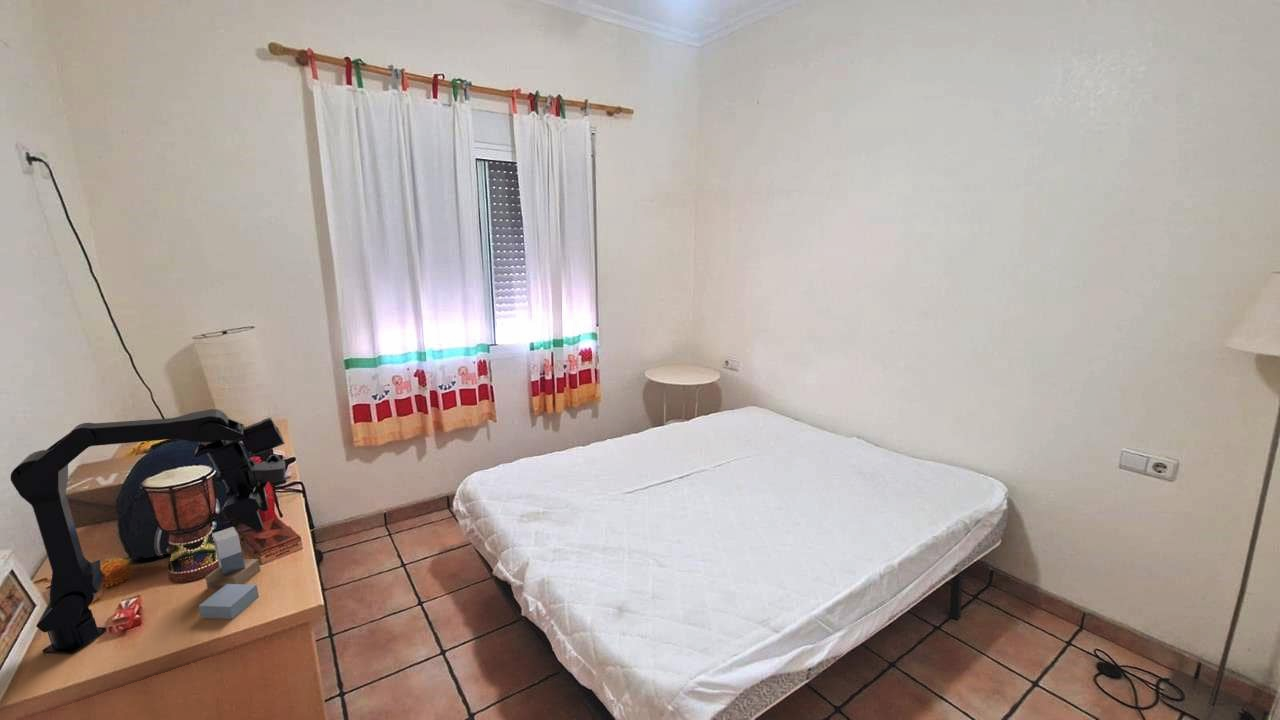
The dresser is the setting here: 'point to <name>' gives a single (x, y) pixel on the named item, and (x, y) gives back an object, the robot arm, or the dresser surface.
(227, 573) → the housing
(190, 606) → the dresser surface
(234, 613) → the stand
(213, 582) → the stand
